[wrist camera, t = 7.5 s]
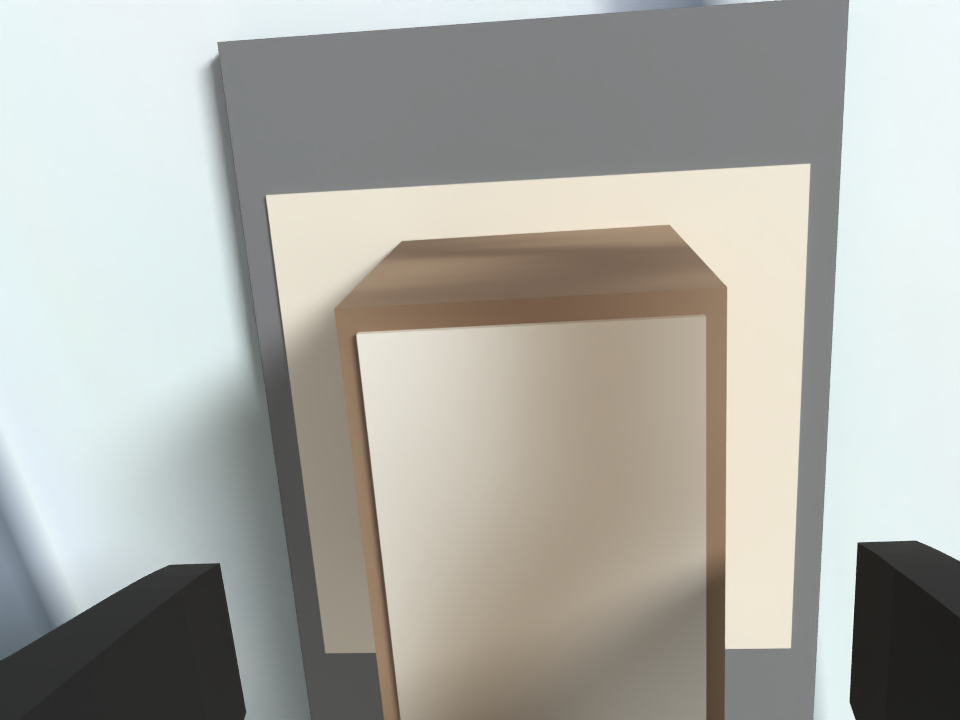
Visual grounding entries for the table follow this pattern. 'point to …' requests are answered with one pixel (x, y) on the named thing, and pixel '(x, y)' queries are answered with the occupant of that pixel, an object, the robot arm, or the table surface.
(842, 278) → the table surface
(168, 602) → the robot arm
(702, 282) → the brown rectangular block
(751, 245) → the mat
